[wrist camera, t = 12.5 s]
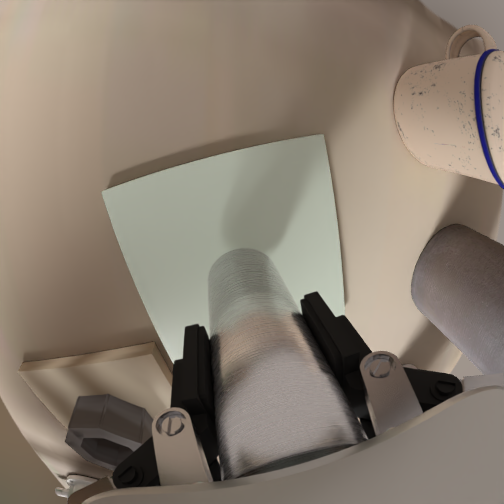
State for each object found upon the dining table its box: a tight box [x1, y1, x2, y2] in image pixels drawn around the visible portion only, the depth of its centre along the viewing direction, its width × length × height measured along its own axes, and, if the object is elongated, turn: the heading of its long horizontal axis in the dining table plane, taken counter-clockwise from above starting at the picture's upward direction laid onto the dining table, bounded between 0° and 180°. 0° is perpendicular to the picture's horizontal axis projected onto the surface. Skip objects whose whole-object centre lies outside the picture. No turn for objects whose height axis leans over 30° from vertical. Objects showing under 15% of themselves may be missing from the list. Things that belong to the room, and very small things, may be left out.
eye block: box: [18, 342, 173, 471], centre depth 21 cm, size 16×16×6 cm
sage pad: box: [101, 134, 345, 364], centre depth 19 cm, size 14×14×1 cm
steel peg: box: [208, 248, 369, 481], centre depth 10 cm, size 4×4×13 cm
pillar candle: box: [411, 224, 504, 375], centre depth 16 cm, size 10×10×15 cm
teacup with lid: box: [394, 25, 504, 189], centre depth 12 cm, size 12×9×12 cm
